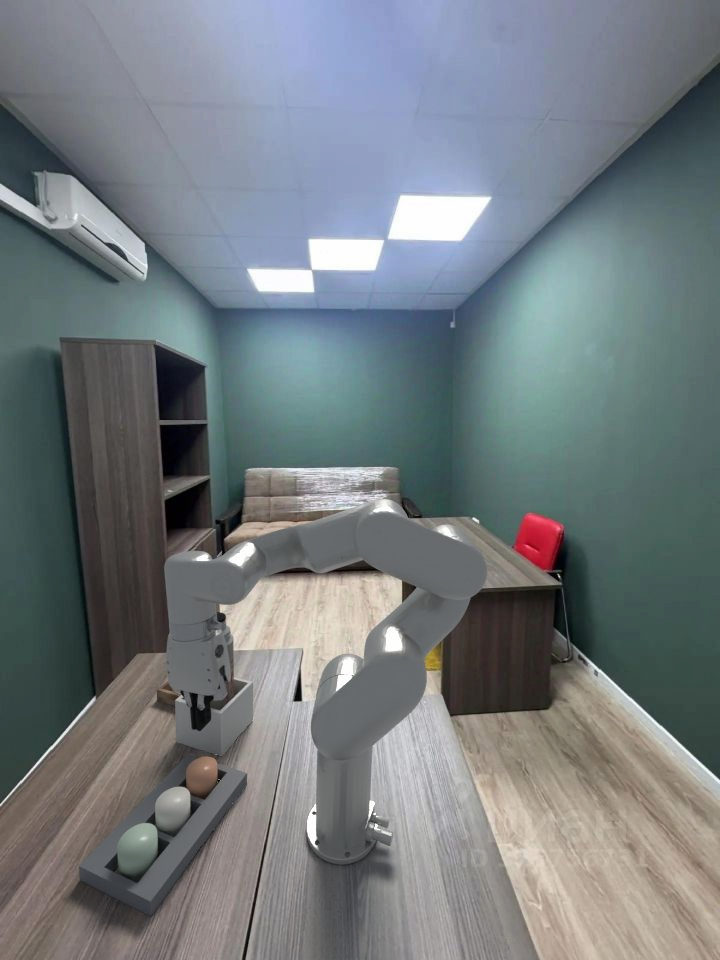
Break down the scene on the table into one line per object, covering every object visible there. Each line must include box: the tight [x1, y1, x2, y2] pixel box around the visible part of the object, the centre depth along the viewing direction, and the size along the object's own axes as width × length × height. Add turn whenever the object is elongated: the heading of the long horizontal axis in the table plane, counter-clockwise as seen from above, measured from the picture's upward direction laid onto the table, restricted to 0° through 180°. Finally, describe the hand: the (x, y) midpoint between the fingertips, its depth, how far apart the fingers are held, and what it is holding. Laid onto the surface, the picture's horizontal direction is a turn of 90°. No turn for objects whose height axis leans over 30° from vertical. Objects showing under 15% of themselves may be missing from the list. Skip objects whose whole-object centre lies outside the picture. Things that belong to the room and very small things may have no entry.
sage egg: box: [117, 823, 159, 883], centre depth 67 cm, size 6×6×4 cm
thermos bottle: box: [210, 611, 235, 710], centre depth 95 cm, size 8×8×28 cm
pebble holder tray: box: [78, 753, 248, 917], centre depth 74 cm, size 14×24×2 cm, turn 161°
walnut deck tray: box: [156, 680, 181, 707], centre depth 111 cm, size 13×13×3 cm
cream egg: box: [155, 787, 192, 837], centre depth 74 cm, size 6×6×4 cm
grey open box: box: [174, 676, 254, 757], centre depth 97 cm, size 12×12×10 cm
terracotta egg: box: [186, 756, 219, 800], centre depth 81 cm, size 6×6×4 cm
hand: (201, 724), depth 73 cm, fingers closed
